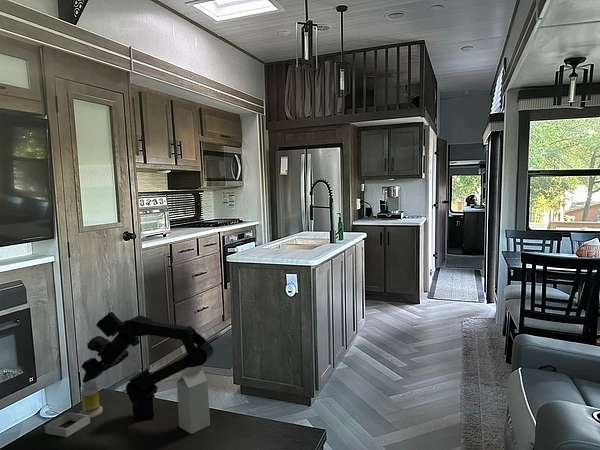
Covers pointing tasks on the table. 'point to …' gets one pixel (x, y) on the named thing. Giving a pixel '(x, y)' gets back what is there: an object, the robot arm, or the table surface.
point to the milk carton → (193, 400)
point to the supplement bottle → (90, 398)
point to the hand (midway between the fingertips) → (92, 376)
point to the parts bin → (65, 432)
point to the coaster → (94, 412)
